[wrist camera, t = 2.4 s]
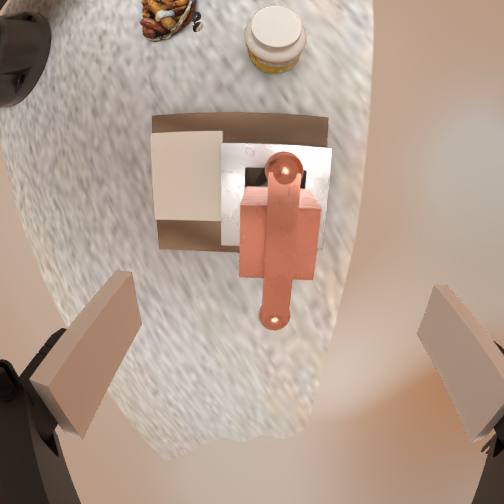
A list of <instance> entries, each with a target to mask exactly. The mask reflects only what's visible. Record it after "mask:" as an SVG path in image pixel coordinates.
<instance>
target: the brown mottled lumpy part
mask: <svg viewBox="0 0 504 504" xmlns="http://www.w3.org/2000/svg"><path fill="white" fill-rule="evenodd" d="M195 2H196V1H195V0H143V1H142V2H141V3H142V4H143V19H142V20H141V22H140V23H141V25H142V27H143V28H142V29H143V35H144V37H145V38H146V39H148V40H151V41H157V40H160V39H169V38H170V37H171V35H172V34H174V33H176V32H178V31H179V30H180V29H181V27H182V26H184V25H185V24H188V23H189V22H190V20H192V21H193V22H194V24H195V22H196V21H198V20H200V18H201V14H200V13H199V12H195V11H194V7H195ZM196 15H197V17H196ZM201 29H202V23H201V22H197V23H196V24H195V25H193V31H194V32H198V31H200V30H201Z"/></svg>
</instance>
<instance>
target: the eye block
mask: <svg viewBox="0 0 504 504" xmlns="http://www.w3.org/2000/svg"><path fill="white" fill-rule="evenodd" d="M281 151H287V152H291V153H293V154H295V155H296V156H297V157H298V158H299V159H300V160H301V162H302V165H303V169H304V172H303V177H302V179H301V185H300V189H310V191H311V192H312V194H313V195H314V197H315V199H316V200H317V202H318V204H319V205H320V207H321V219H320V228H319V237H318V246H317V249H319V250H322V245H323V237H324V228H325V220H326V211H327V201H328V191H329V180H330V168H331V156H332V148H329V147H327V146H325V145H322V144H310V143H297V142H281V141H257V140H227V141H225V142H222V143H221V245H228V246H240V204H241V201H242V198H243V194H244V191H245V188H246V186H248V167H256V168H265V165H266V162H267V160H268V159H269V158H270V157H271V156H272V155H273V154H275V153H277V152H281Z"/></svg>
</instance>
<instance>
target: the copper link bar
mask: <svg viewBox="0 0 504 504" xmlns="http://www.w3.org/2000/svg"><path fill="white" fill-rule="evenodd" d="M303 172H304V169H303V165H302V162H301V160H300V159H299V158H298V157H297V156H296V155H295V154H293V153H291V152H287V151H281V152H277V153H275V154H273V155H272V156H271V157H270V158H269V159H268V160H267V162H266V165H265V171H264V172H262V173H261V174H260V175H259V176H258V178H257V180H256V183H255V187H251V186H246V188H245V191H244V194H243V198H242V201H241V204H240V260H239V277H251V278H264V279H263V298H262V306H261V308H260V310H259V320H260V322H261V324H262V325H263V326H264V327H265V328H267V329H269V330H280V329H282V328H284V327H285V326H286V325H287V323H288V322H289V319H290V310H289V306H290V297H291V288H292V279H299V280H313V277H314V269H315V262H316V254H317V246H318V237H319V228H320V219H321V207H320V205H319V204H318V202H317V200H316V199H315V197H314V195H313V194H312V192H311V191H310V189H300V185H301V179H302V177H303Z"/></svg>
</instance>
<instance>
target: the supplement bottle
mask: <svg viewBox="0 0 504 504" xmlns="http://www.w3.org/2000/svg"><path fill="white" fill-rule="evenodd" d="M245 41H246V45H247V49H248V52H249V56H250V59H251V60H252V62H253V63H254V65H255V66H256V67H257V68H258V69H260V70H261V71H264V72H266V73H271V74H278V73H283V72H286V71H288V70H290V69H291V68H292V67H293V66H294V65H295V64H296V62H297V61H298V59H299V56H300V54H301V52H302V50H303V48H304V46H305V43H306V32H305V29H304V27H303V25H302V23H301V21H300V19H299V17H298V16H297V14H296V13H294V12H293V11H292V10H290V9H288V8H286V7H282V6H268V7H265V8H263V9H261V10H259V11H258V12H257V13H256V14H255V15H254V17H253V18H252V19H251V20H250V22H249V23H248V25H247V27H246V30H245Z"/></svg>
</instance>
